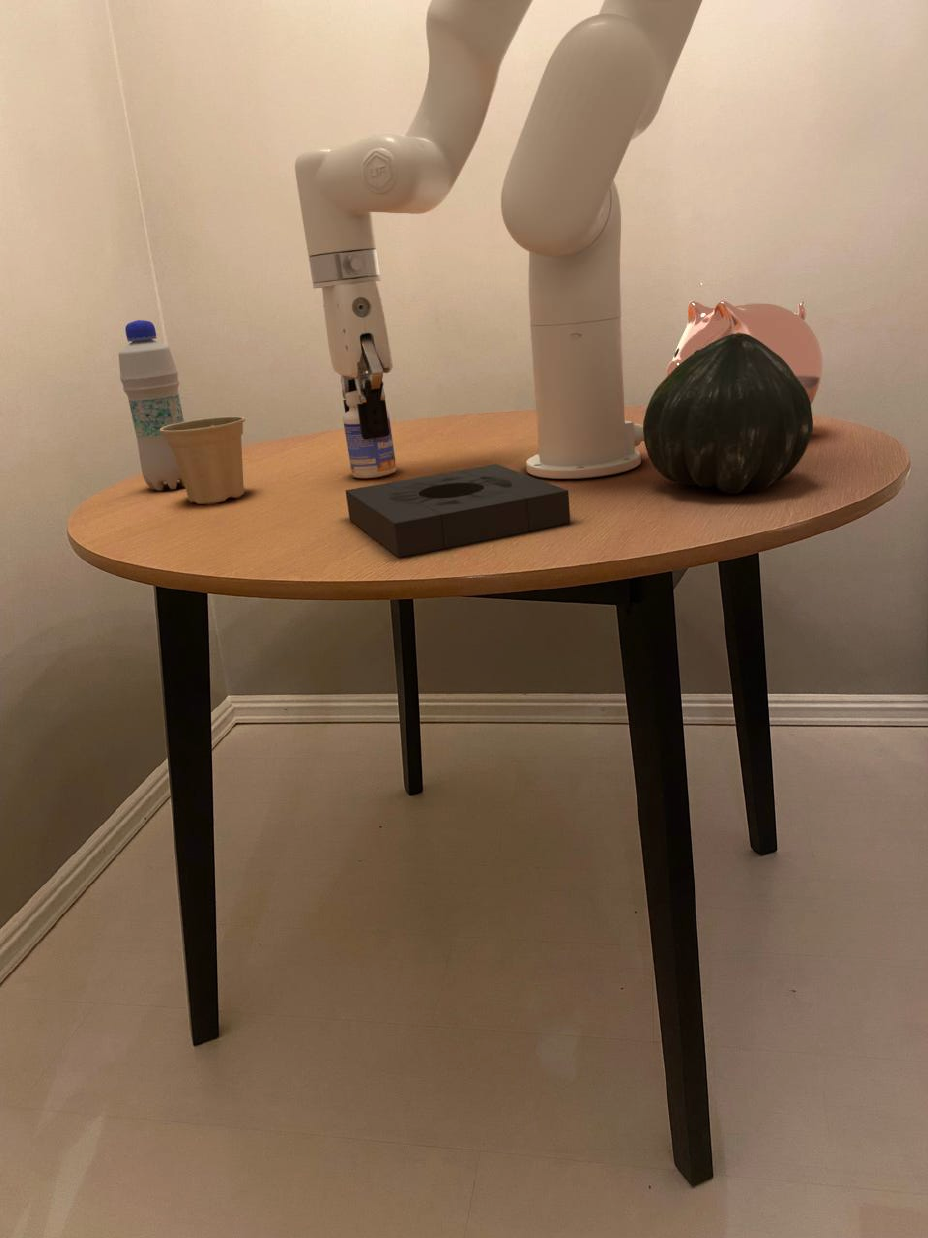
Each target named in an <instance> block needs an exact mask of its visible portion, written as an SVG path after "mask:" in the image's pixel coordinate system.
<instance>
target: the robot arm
mask: <svg viewBox="0 0 928 1238" xmlns="http://www.w3.org/2000/svg"><path fill="white" fill-rule="evenodd" d="M533 1H534V0H431V1H430V3H429V5H428V8H427V12H426V20H425V29H426V30H425V31H426V40H427V49H428V61H429V62H428V73H427V79H426V83H425V84H426V85H425V88H424V91H423V95H422V97H421V100H420V103H419V105H418V108H417V111H416V113H415V115H414V117H413V119H412V121H411V123H410V125H409V128H408V129H407V131H406V134H402V133H398V132H391V131H385V132H378V133H374V134H371V135H369V136H366V137H362V138H360V139H358V140H355V141H352V142H349V143H345V144H343V145H341V144H340V145H339V144H338V145H325V146H319V147H313V148H308V149H306V150H304V151H302V152H300V153H299V154H298V155H297V157H296V159H295V162H294V171H295V179H296V186H297V193H298V197H299V198H298V199H299V205H300V212H301V217H302V224H303V230H304V231H303V232H304V236H305V242H306V249H307V256H308V262H309V270H310V276H311V282H312V288H313V289H320V288H321V292H322V293H321V295H322V304H323V305H322V307H323V312H324V321H325V329H326V330H325V331H326V336H327V343H328V349H329V350H328V351H329V356H330V360H331V365H332V368H333V370H334V372H335V373H336V374H338V375H340V382H341V394H342V398H343V401H342V402H343V409H344V414H345V413H346V412H348V411H349V406H347V404H346V397H345V394H346V393H348V392H352V391H357V392H358V396H359V401H360V404H357V407H358V414H359V421H360V428H361V434H362V438H363V439H373V438H378V437H384V436H388V435H389V433H390V431H389V424H388V416H387V411H388V409H387V403H386V394H385V389H384V381H383V377H384V374H389V373H390V372H391V371H392V369H393V366H394V363H393V359H392V358H393V357H392V352H391V345H390V339H389V334H388V329H387V322H386V317H385V312H384V307H383V304H382V299H381V294H380V291H379V287H378V283H377V282H380V281H381V275H380V267H379V260H378V252H377V245H376V237H375V230H374V222H373V214H372V213H387V214H411V215H413V214H414V215H416V214H417V215H421V214H426V213H428V212H431V211H433V210H434V209H435V208H437V207H438V206H440V204H442V202H443V201H444V200H445V199H446V198H447V197H448V195H449V194H450V192H451V191H452V189H453V188H454V186H455V183H456V181H457V180H458V178H459V176H460V174H461V172H462V170H463V168H464V167H465V164H466V163H467V161H468V159H469V158H470V155H471V153H472V152H473V149H474V147H475V145H476V143H477V141H478V138H479V136H480V135H481V131H482V129H483V126H484V123H485V121H486V117H487V114H488V111H489V107H490V104H491V101H492V99H493V96H494V92H495V89H496V87H497V83H498V79H499V73H500V70H501V66H502V64H503V61H504V58H506V57H505V56H506V54H507V53H508V51H509V49H510V46H511V44H512V42H513V40H514V38H515V36H516V35H517V33H518V30H519V28H520V26H521V24H522V22H523V21H524V19H525V16H526V14H527V13H528V11H529V9H530V7H531V5H532V3H533ZM702 3H703V0H603V1H602V5H601V7H600V9H599V12H598V14H595V15H592V16H590V17H587V18H585V19H583V20H581V21H580V22H578V23H576V24H575V25H574V26H573V27H572V28H570V29H569V30H568V31H567V33H565V35H563V37H562V38H561V40H560V41H559V43H558V44H557V45H556V47H555V49H554V50H553V52H552V53H551V54H550V55H551V56H550V57H549V59H548V62H547V64H546V65H545V68H544V71H543V73H542V76H541V78H540V81H539V84H538V85H537V89H536V91H535V94H534V97H533V100H532V102H531V105H530V108H529V110H528V113H527V115H526V119H525V121H524V123H523V127H522V129H521V132H520V134H519V137H518V139H517V142H516V144H515V148H514V150H513V153H512V155H511V159H510V160H509V164H508V167H507V169H506V173H505V176H504V179H503V184H502V188H501V193H500V211H501V216H502V221H503V223H504V226H505V229H506V230H507V232H508V234H509V235H510V238H512V239H513V241H514V242H515V243H516V244H517V245H518V246H520V247H521V248H522V249H523V250H525V251H527V252H528V306H529V307H528V309H529V321H530V322H529V323H530V324H529V326H530V329H529V330H530V343H531V356H532V357H531V358H532V371H533V384H534V386H533V387H534V398H535V413H536V427H537V440H538V441H537V442H538V454H535V455H533V456H531V457H529V458H528V459H527V460H526V462H525V469H526V472H527V474H528V475H531V476H533V477H537V478H538V477H539V478H543V479H544V478H545V479H554V480H557V479H558V480H560V479H561V480H571V479H573V480H575V479H576V480H577V479H589V478H590V479H591V478H598V477H605V476H612V475H616V474H622V473H625V472H628V471H631V470H632V469H636V468H637V467H638V466H639V465H640V464H641V462H642V461H641V457H642V456H641V455H642V454H641V452H640V451H639V450H637V449H636V447H638V446H639V445H641V442H644V433H643V425H642V424H641V423H636V422H634V421H631V420H628V419H627V420H626V418H625V413H626V412H625V391H624V390H625V389H624V388H625V387H624V365H623V364H624V363H623V361H624V359H623V336H622V334H623V333H622V301H621V300H622V298H621V297H622V296H621V242H622V241H621V239H622V238H621V237H622V212H621V211H622V210H621V200H620V195H619V191H618V188H617V185H616V182H615V177H616V175H617V174H618V171H619V169H620V166H621V164H622V162H623V159H624V157H625V154H626V153H627V150H628V148H629V145H630V144H631V141H634V140H635V139H637V138H638V137H639V136H640V135H641V134H643V133H644V132H645V131H646V130H647V129H648V128H649V127H650V126H651V124H653V121H654V120H655V118H656V116H657V115H658V113H659V110H660V107H661V105H662V102H663V99H664V96H665V94H666V91H667V89H668V86H669V84H670V82H671V78H672V76H673V73H674V71H675V69H676V66H677V64H678V62H679V59H680V57H681V54H682V52H683V50H684V47H685V45H686V43H687V41H688V39H689V36H690V33H691V31H692V28H693V25H694V24H695V23H694V22H695V20H696V18H697V15H698V12H699V11H700V8H701V5H702Z"/></svg>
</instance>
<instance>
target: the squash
mask: <svg viewBox="0 0 928 1238" xmlns="http://www.w3.org/2000/svg"><path fill="white" fill-rule="evenodd" d="M642 423H643V424H642V426H643V433H644V441H643V442H644V443H643V444H644V447H645V450H646V454H647V456H648V458H649V460H650V463H651V465H652V466H653V467H654V469H655V470H657V472H658V473H659V474H660V475H661V476H663V478H665V479H667V480H669V481H671V482H673V483H677V484H681V485H689V486H693V485H696V486H699V487H702V488H709V487H712V486H715V487H717V489H718V490H720V491H721V492H723V493H727V494H730V495H734V494H739V493H740V492H742V491H743V490H746V491H749V492H758V491H762V490H764V489H766V488H768V487H770V486H771V485H772V484H773V483H775V482H777V481H778V482H779V481H780V480H782V479H784V478H785V477H786V476H788V475H789V474H790V473H791V472H792V471H793V470H794V469H795V467H796V466H797V465H798V464H799V463H800V462H801V460H802V458H803V456H804V454H805V453H806V451H807V448H808V446H809V444H810V442H811V439H812V436H813V428H814V418H813V409H812V405H811V402H810V399H809V396H808V394H807V391H806V389H805V388H804V387H803V385H802V384H801V382H800V381H799V380H798V378H797V377H796V376H795V374H794V373H793V371H792V370H791V368H790V367H789V366H788V364H787V363H786V362H785V361H784V360H783V359H782V358H781V357H780V356H779V355H777V354H776V353H775V352H773V351H772V350H771V349H769V348H768V347H767V346H766V345H764V344H763V343H762V342H760V341H759V340H757V339H756V338H754V337H752V336H750V335H748V334H744V333H736V334H731V335H728V336H725V337H723V338H720V339H718V340H716V341H714V342H712V343H710V344H709V345H707V346H706V347H704V348H702V349H701V350H699V351H698V352H696V353H694V354H693V355H691V356H690V357H689V358H687V359H686V360H684V361H683V362H682V363H681V364H680V365H678V366H677V367H676V368H675V369H674V370H673V371H672V372H671V374H670V375H668V376H667V377H666V376H665V378H664V379H663V380H662V382H661V383H660V384H659V385H658V386H657V387H656V389H655V390H654V391H653V394H652V395H651V397H650V400H649V402H648V405H647V407H646V410H645V414H644V418H643V422H642ZM811 435H812V436H811Z"/></svg>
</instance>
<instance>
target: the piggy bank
mask: <svg viewBox="0 0 928 1238" xmlns="http://www.w3.org/2000/svg"><path fill="white" fill-rule="evenodd" d="M804 303H805V301H804V300H802V302H798V303H797V307H798V313H797V312H795V311H793V310H791V309H790V308H788V307H786V306H783V305H781V304H776V303H771V302H753V303H750V302H749V303H742V304H732V303H730V302H728V301H725V300H719V301H718V302H717V303H716V304H715V306H714V307H711V306H706V305H704V304H702V303H701V302H698V301H695V300H691V301H689V303H688V305H687V324H686V327H685V330H684V332H683V334H682V336H681V338H680V340H679V342H678V345H677V347H676V349H675V351H674V355H673V357H672V359H671V361H670V362H669V363H668V365H667V368H666V371H665V378H666V377H667V376H668V375H670V374H671V372H672V371H673V370H674V369H675V368H676V367H677V366H678V365H680V364H681V363H682V362H683V361H684V360H686V359H687V358H689V357H690V356H691V355H693V354H694V353H696V352H698V351H699V350H701V349H702V348H704V347H706V346H707V345H709V344H710V343H712V342H714V341H716V340H718V339H720V338H723V337H725V336H728V335H731V334H736V333H744V334H748V335H750V336H752V337H754V338H756V339H757V340H759V341H760V342H762V343H763V344H764V345H766V346H767V347H768V348H769V349H771V350H772V351H773V352H775V353H776V354H777V355H779V356H780V357H781V358H782V359H783V360H784V361H785V362H786V363H787V364H788V366H789V367H790V368H791V370H792V371H793V373H794V374H795V376H796V377H797V378H798V380H799V381H800V382H801V384H802V385H803V387H804V388H805V389H806V391H807V394H808V396H809V399H810V402H811V406H812V404H813V402H814V400H815V398H816V395H817V392H818V390H819V387H820V384H821V381H822V380H821V379H822V376H823V354H822V349H821V345H820V343H819V340H818V337H817V336H816V334H815V333H814V331H813V329H812V328H811V326H810V325H809V324H808V322H806V317H807V316H806V315H807V314H806V313H807V312H806V309H805V306H804ZM812 436H813V434H812V435H811V437H812Z"/></svg>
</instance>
